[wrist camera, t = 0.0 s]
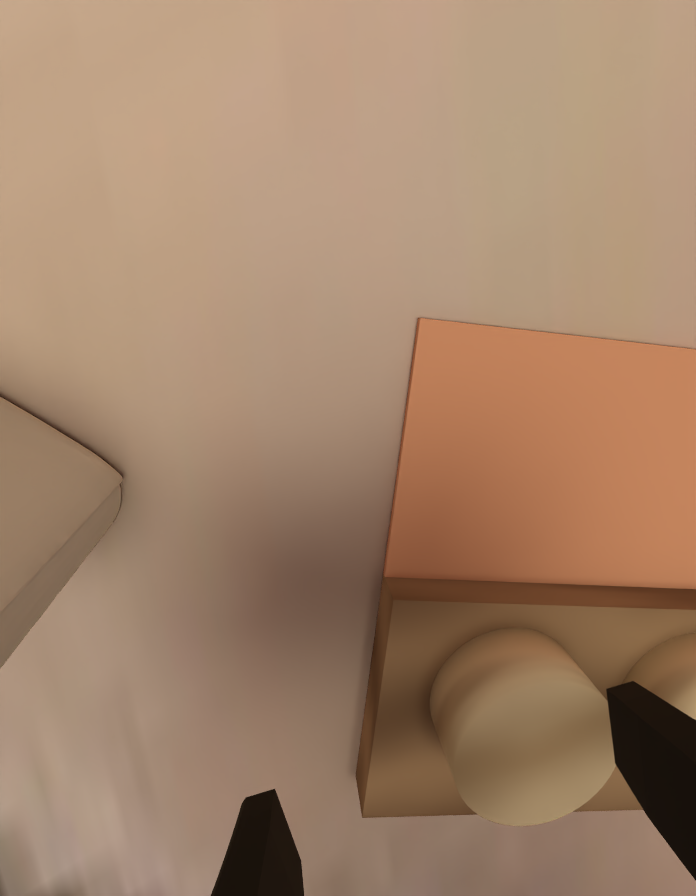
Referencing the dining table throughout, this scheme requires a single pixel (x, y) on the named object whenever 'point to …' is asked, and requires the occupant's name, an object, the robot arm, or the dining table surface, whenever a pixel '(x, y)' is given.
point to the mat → (545, 460)
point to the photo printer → (45, 516)
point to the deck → (466, 617)
